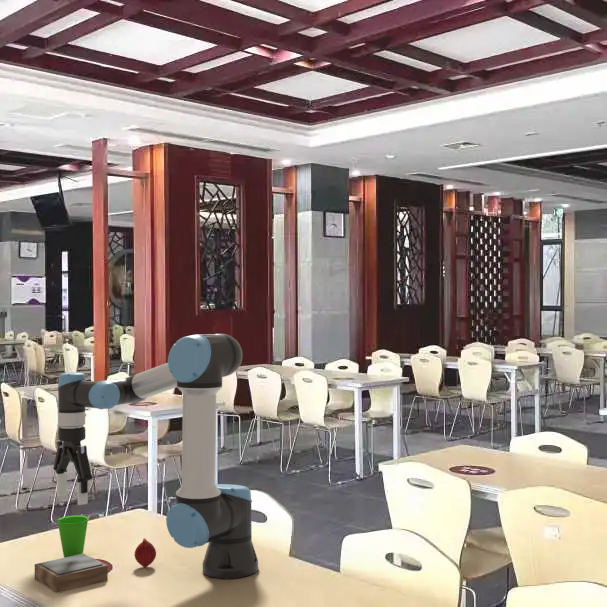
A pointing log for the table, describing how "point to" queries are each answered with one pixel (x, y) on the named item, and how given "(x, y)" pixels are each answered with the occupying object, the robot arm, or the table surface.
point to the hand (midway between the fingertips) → (72, 500)
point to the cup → (72, 534)
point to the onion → (145, 553)
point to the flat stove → (71, 572)
